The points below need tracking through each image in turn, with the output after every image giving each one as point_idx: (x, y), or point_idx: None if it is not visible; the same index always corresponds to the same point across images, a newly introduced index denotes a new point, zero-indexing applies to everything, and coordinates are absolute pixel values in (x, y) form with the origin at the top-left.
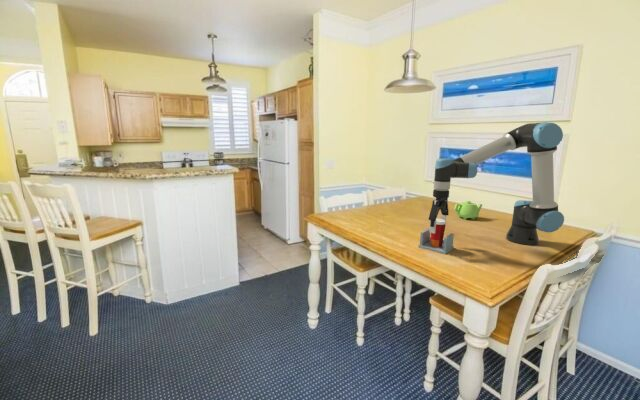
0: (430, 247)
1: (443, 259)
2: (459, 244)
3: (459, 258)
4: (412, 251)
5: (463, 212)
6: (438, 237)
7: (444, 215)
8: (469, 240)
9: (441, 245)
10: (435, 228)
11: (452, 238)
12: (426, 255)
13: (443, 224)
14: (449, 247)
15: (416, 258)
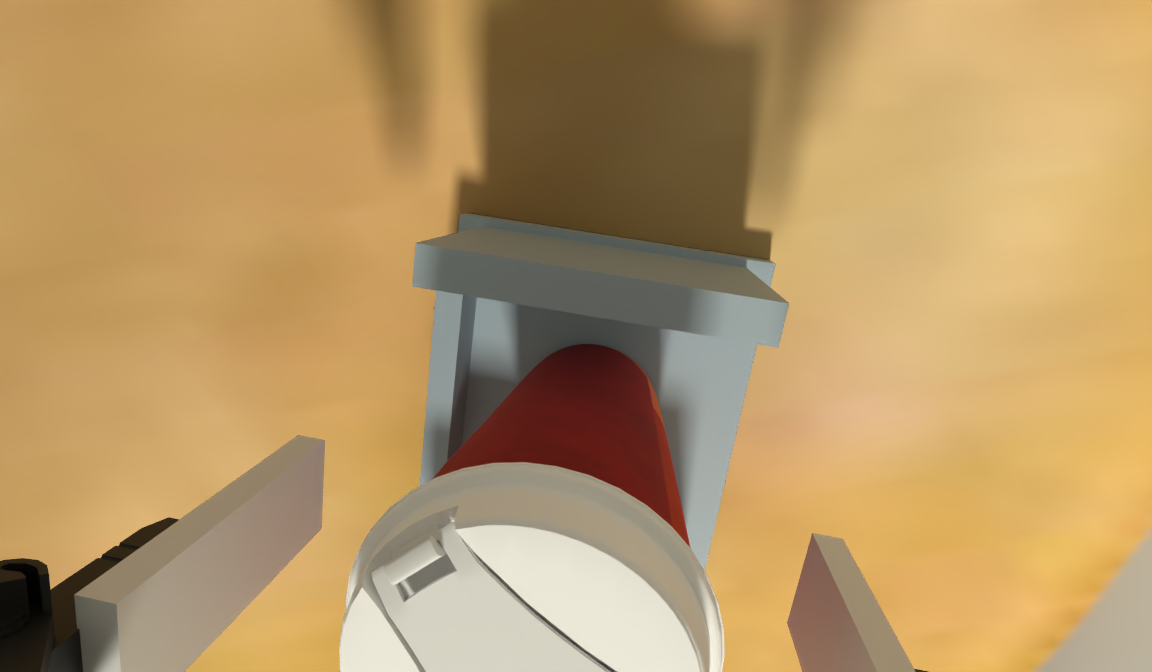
0: (692, 456)
1: (972, 242)
2: (284, 173)
3: (826, 69)
4: (877, 597)
5: None
6: (665, 439)
7: (106, 644)
8: (39, 87)
9: (609, 351)
10: (855, 602)
11: (492, 243)
12: (931, 443)
13: (647, 510)
14: (603, 247)
15: (1096, 518)
